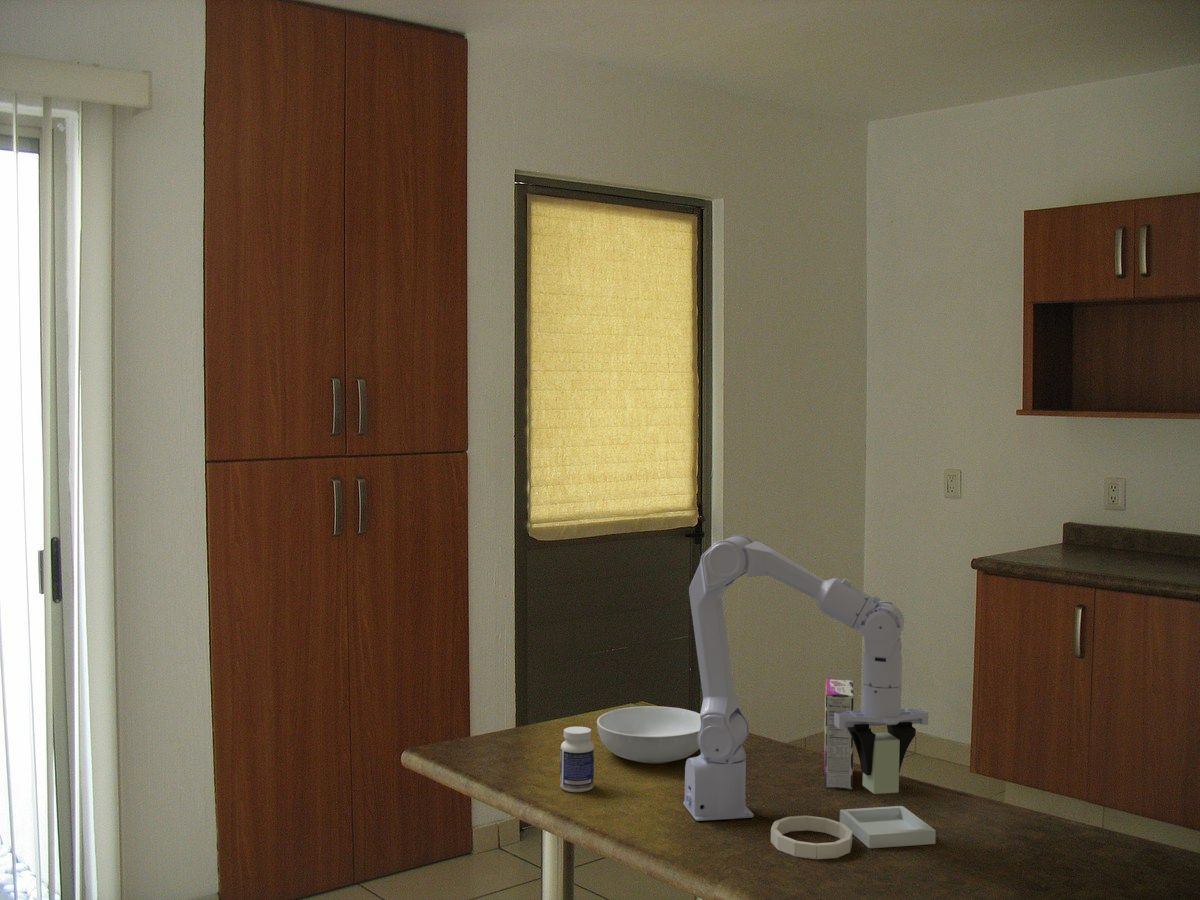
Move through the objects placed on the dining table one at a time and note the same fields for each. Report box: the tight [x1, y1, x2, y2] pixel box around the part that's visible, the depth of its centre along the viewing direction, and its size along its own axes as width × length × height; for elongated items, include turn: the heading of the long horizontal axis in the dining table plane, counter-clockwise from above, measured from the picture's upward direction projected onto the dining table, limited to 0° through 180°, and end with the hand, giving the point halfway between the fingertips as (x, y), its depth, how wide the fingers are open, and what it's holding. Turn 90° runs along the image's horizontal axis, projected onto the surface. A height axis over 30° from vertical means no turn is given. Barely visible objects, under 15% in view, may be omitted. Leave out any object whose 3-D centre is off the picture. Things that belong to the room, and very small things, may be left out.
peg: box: [862, 731, 900, 795], centre depth 169 cm, size 4×4×8 cm
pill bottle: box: [559, 726, 595, 793], centre depth 189 cm, size 6×6×10 cm
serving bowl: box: [596, 705, 701, 765], centre depth 207 cm, size 21×21×7 cm
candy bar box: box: [823, 678, 855, 790], centre depth 195 cm, size 11×5×16 cm, turn 168°
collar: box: [770, 815, 853, 860], centre depth 166 cm, size 12×12×2 cm
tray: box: [839, 805, 937, 849], centre depth 170 cm, size 11×11×2 cm
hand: (880, 772), depth 170 cm, fingers closed on peg, 4 cm apart
